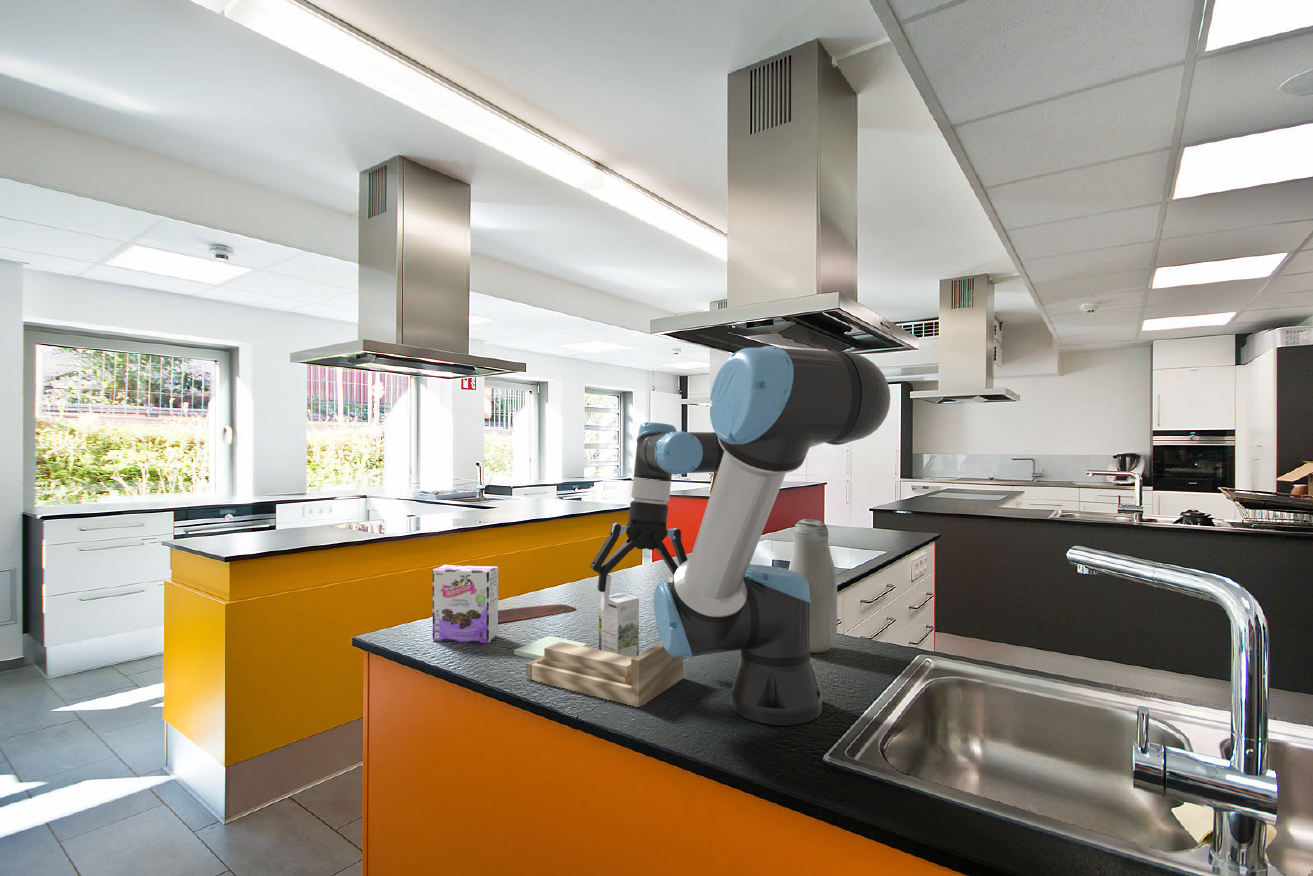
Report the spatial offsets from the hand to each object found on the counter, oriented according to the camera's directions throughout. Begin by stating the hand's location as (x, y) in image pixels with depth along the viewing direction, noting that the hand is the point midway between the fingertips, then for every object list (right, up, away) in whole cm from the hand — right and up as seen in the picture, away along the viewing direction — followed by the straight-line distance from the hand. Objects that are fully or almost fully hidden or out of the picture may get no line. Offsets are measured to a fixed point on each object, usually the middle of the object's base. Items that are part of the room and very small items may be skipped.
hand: (637, 610), depth 120 cm
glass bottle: (+37, -12, +12) cm, 41 cm away
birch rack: (-6, -12, -3) cm, 14 cm away
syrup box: (-4, -12, +1) cm, 13 cm away
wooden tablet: (-31, -13, +42) cm, 54 cm away
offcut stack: (-8, -12, -6) cm, 16 cm away
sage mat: (-19, -12, +13) cm, 26 cm away
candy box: (-40, -13, +22) cm, 48 cm away
